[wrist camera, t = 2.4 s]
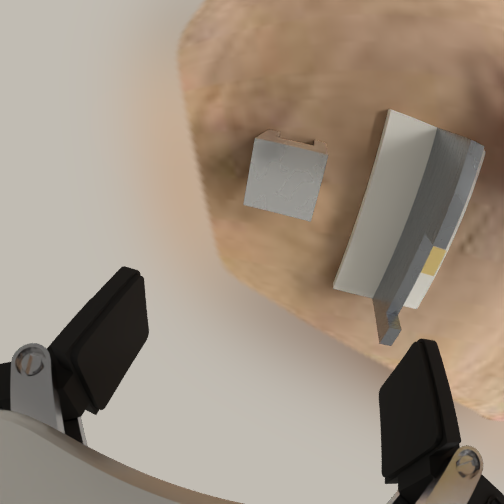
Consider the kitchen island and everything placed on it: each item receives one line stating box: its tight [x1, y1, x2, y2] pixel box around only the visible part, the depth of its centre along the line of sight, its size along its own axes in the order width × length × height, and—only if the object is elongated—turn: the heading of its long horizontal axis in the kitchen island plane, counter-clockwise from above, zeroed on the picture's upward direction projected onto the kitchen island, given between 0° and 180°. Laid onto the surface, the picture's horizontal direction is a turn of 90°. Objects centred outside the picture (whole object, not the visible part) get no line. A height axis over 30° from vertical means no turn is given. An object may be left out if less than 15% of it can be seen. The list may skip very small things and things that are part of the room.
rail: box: [372, 128, 484, 346], centre depth 21 cm, size 18×1×6 cm, turn 170°
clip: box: [243, 129, 328, 222], centre depth 23 cm, size 5×5×6 cm
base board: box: [333, 109, 486, 309], centre depth 25 cm, size 18×10×1 cm, turn 170°
